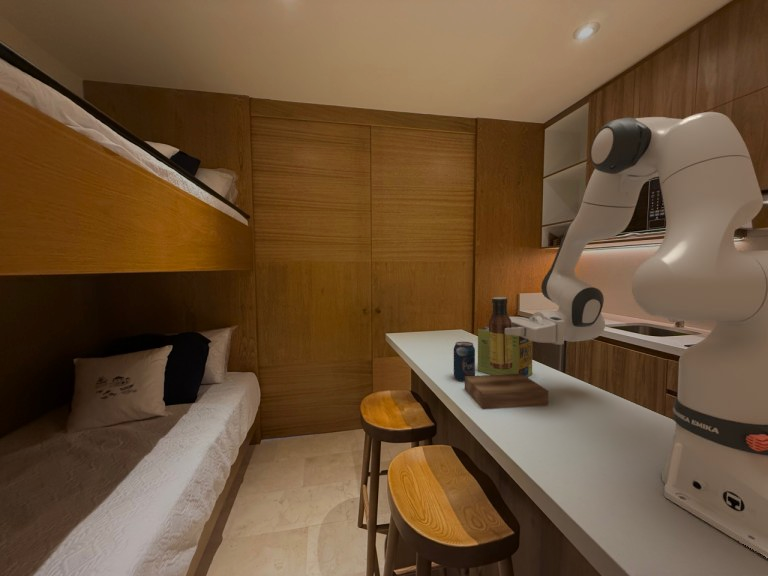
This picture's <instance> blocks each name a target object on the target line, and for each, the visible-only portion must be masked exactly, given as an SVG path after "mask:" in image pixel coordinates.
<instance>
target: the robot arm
mask: <svg viewBox="0 0 768 576" xmlns="http://www.w3.org/2000/svg"><path fill="white" fill-rule="evenodd" d="M589 157H590V162H591V164H592V167H593V168H594V170H593V172H592V174H591V175H590V178H589V181H588V182H587V185H586V188H585V191H584V194H583V198H582V202H581V205H580V208H579V209H578V213H577V214H576V216H575V218H574V219H573V220H572V221H571V222H570V223H569V224H568V226H567V228H566V230H565V232H564V234H563V237H562V239H561V241H560V244H559V247H558V249H557V252H556V254H555V257H554V259H553V261H552V265H551V267H550V269H549V270H548V271H547V273H546V275H545V276H544V278H543V279H542V283H541V286H540V287H541V289H540V290H541V293H542V295H543V296H544V298H546V299H547V300H549V301H550V302H552V303H554V304H555V305H557V306H558V309H557V310H553V311H536V312H534V313H533V314H532V315H531V316H530V317H529V318H528V317H524V316H523V317H522V316H509V318H510V319H511V323H512V326H511V327H512V328H510V327H504V328H503V333H504V334H506V335H517V336H521V337H523V338H526V339H528V340H531V341H532V342H535V343H540V344H542V343H543V344H544V343H546V344H553V345H564V343H565V341H566V342H583V341H589V340H594V339H596V338H598V337H601V335H602V334H603V333H604V330H605V328H606V321H605V318H604V317H603V315H602V309H603V307H604V300H605V299H604V295H603V292H602V291H601V289H599V288H598V287H596V286H594V285H593V284H591V283H589V282H587V281H585V280H583V279H582V278H580V277H578V276H577V274H576V268H577V265H578V263H579V260H580V259H581V256H582V253H583V252H584V250H585V248H586V246H587V245H588V244H590V243H591V242H593V241H600V240H601V241H603V240H607V239H610V238H613V237H616V236H617V235H620V234H621V233H622V232H624V231H625V230H626V228H628V226H629V224H630V222H631V220H632V217H633V216H634V212H635V209H636V206H637V203H638V200H639V197H640V193H641V191H642V188H643V185H644V184H646V182H648V181H649V180H651V179H653V178H657V179H658V180H659V185H660V190H661V191H660V192H661V197H662V201H663V206H664V207H663V208H664V215H665V222H666V223H665V224H666V225H665V232H664V237H663V240H662V242H661V243H660V246H659V247H658V248H657V250H656V251H655V252H654V254H652V255H650V257H648V258H647V259H645V261H643V262H642V263H641V264H640V265H639V267H638V268H637V269H636V270H635V273H634V275H633V278H632V280H631V292H632V297H633V298H634V300H635V302H636V303H637V305H638V306H639V308H640V309H641V310H642V311H643V312H645V313H646V314H648V315H649V316H654V317H658V318H663V319H668V320H674V321H679V322H680V321H681V322H711V323H712V322H713V323H715V324H714V325H713V328H712V330H711V331H710V333H709V334H707V336H706V337H705V338H704V339H702V340H701V341H699V342H697V343H695V344H692V345H691V346H689V347H686V349H684V351H682V352H681V354H680V356H679V359H678V375H677V376H678V378H677V380H678V381H677V382H678V383H677V396H676V397H675V398H674V400H673V401H674V402H673V407H672V412H673V413H672V414H673V415H672V419H673V421H674V422H675V427H674V433H673V438H672V444H671V449H670V452H669V456H668V459H667V462H666V464H665V466H664V467H663V470H662V472H661V478H662V482H663V483H664V487H663V491H662V494H663V496H664V497H665V498H666V499H667V500H669V501H670V502H672V503H674V504H676V505H678V506H679V507H681V508H682V509H684V510H685V511H687V512H689V513H690V514H692V515H694V516H696V517H697V518H698V519H701V520H702V521H704V522H705V523H707V524H708V525H710V526H712V527H713V528H715V529H717V530H719V531H720V532H721V533H724V534H725V535H727V536H729V537H730V538H732V539H734V540H736V542H738V541H739V542H738V543H740V544H742V545H743V544H744V545H743V546H745V545H746V547H747V546H748V547H749V549H750V548H751V549H750V550H752V549H753V550H755V551H757V552H759V553H762V554H764V555H766V556H767V557H768V250H767V249H766V250H761V249H760V250H738V249H737V247H736V244H735V232H736V231H737V230H738V229H740V228H742V227H744V226H745V225H747V224H748V223H750V222H751V221H753V220H754V219H755V218H756V216H757V215H758V214H759V213H760V211H761V210H762V208H763V205H764V199H763V195H762V191H761V187H760V185H759V181H758V178H757V175H756V172H755V167H754V165H753V162H752V158H751V156H750V152H749V150H748V147H747V145H746V142H745V141H744V140H743V137H742V135H741V134H740V132H739V130H738V129H737V127H736V125H735V124H734V123H733V121H732V120H731V119H730V118H729V117H728V116H727V115H726V114H723V113H720V112H716V111H705V112H701V113H700V112H699V113H695V114H692V115H690V116H687V117H685V118H683V119H682V118H672V117H665V116H650V117H636V118H633V117H623V118H617V119H614V120H611V121H608V122H607V123H605V124H604V125H603V126H602V127H601V128H600V129H599V130H598V132H597V133H596V134H595V136H594V138H593V140H592V143H591V146H590V150H589ZM748 547H747V548H748ZM753 550H752V551H753ZM755 551H754V552H755ZM757 552H756V553H757Z"/></svg>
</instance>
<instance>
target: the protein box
mask: <svg viewBox="0 0 768 576" xmlns="http://www.w3.org/2000/svg"><path fill="white" fill-rule="evenodd" d="M512 345H513V362H512V368H510V369H496V368H494V367H492V366H491V364H490V350H489V326H485V327H480V328H477V372H481V373H484V374H487V375H504V374H522V375H524V376H526V377H527V378H529V377H530V376H532V375H533V341H531V340H528V339H526V338H523V337H521V336H517V335H512Z"/></svg>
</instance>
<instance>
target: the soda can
mask: <svg viewBox="0 0 768 576" xmlns="http://www.w3.org/2000/svg"><path fill="white" fill-rule="evenodd" d="M465 376H476V348H475V347H474V343H473V342H470V341H456V342H455V345H454V347H453V377H454V379H456V381H458V380H459V382H463V381H464V383H465Z"/></svg>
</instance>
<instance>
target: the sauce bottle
mask: <svg viewBox="0 0 768 576" xmlns="http://www.w3.org/2000/svg"><path fill="white" fill-rule="evenodd" d="M491 303H492V314H491V317H490V318H489V323H488V327H489V350H490V364H491V366H492V367H494V368H496V369H510V368H512V362H513V345H512V335H506V334H504V333H503V328H504V327H510V328H512V327H511V326H512V323H511V319H510V318H509V317H510V316H509V314H508V308H507V307H508V306H507V305H508V297H503V296H501V297H499V296H498V297H497V296H495V297H492V298H491Z"/></svg>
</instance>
